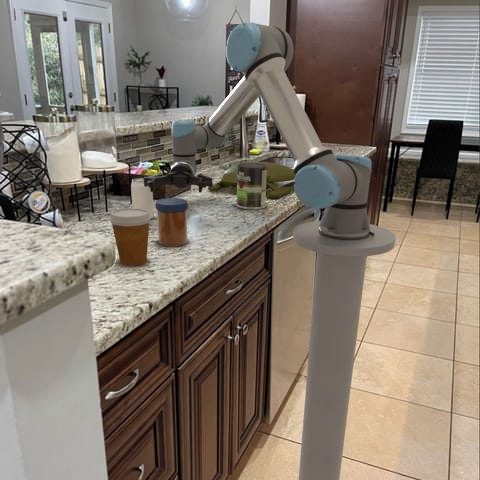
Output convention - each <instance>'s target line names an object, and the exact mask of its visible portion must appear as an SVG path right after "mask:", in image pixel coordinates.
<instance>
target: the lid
mask: <svg viewBox="0 0 480 480" xmlns="http://www.w3.org/2000/svg"><path fill="white" fill-rule="evenodd" d="M188 208H189V203H188V200H187V199H184V198H177V197H167V198H160V199H157V200H155V210H156V211H157V210H158V211H161V212H181V211H185V210H186V211H187V210H188Z"/></svg>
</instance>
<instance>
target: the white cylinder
mask: <svg viewBox="0 0 480 480" xmlns="http://www.w3.org/2000/svg"><path fill="white" fill-rule="evenodd" d="M144 178H145V177H137V178H132V180H131V183H130V184H131V185H130V191H131V208H140V209H145V210H147V211H149V215H150V216H151V219H150V220H152V219H153V218H154V216H155V210H154V191H153V192H150V187H148V186H147V187H145V186H144Z"/></svg>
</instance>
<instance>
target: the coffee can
mask: <svg viewBox="0 0 480 480" xmlns="http://www.w3.org/2000/svg"><path fill="white" fill-rule="evenodd" d="M236 165H237V168H238V171H237V187H236V207H237V208H239V209H243V210H262V209H264V208H266V196H267V189H266V176H267V165H264V164H258V163H248V162H243V163H239V164H236Z"/></svg>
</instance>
